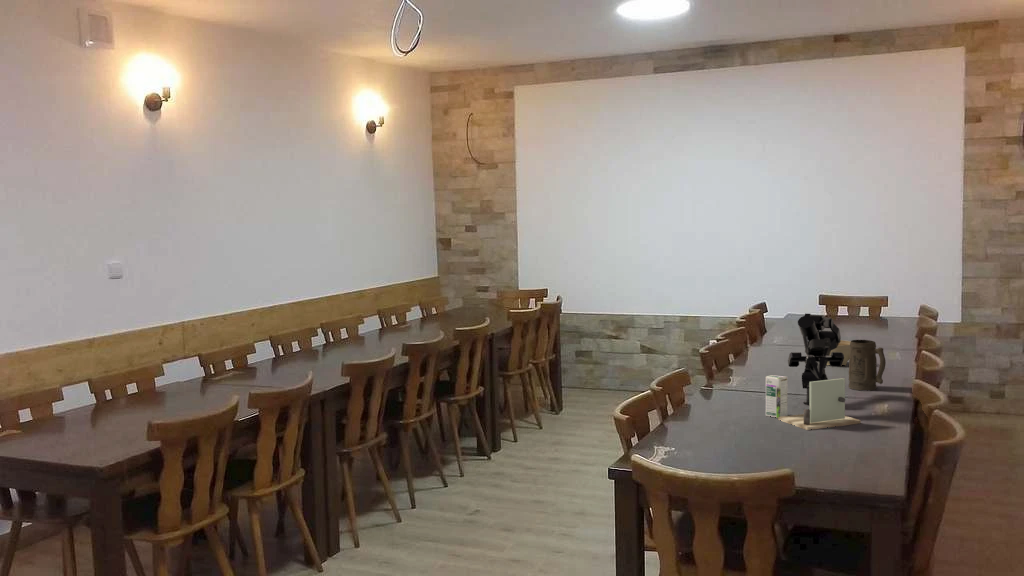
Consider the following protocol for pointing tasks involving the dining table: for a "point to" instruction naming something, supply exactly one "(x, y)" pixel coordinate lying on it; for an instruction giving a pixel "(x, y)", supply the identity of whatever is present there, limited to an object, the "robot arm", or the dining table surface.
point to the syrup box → (776, 396)
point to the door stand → (804, 422)
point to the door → (827, 400)
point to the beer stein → (865, 365)
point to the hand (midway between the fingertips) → (819, 378)
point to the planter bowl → (843, 350)
